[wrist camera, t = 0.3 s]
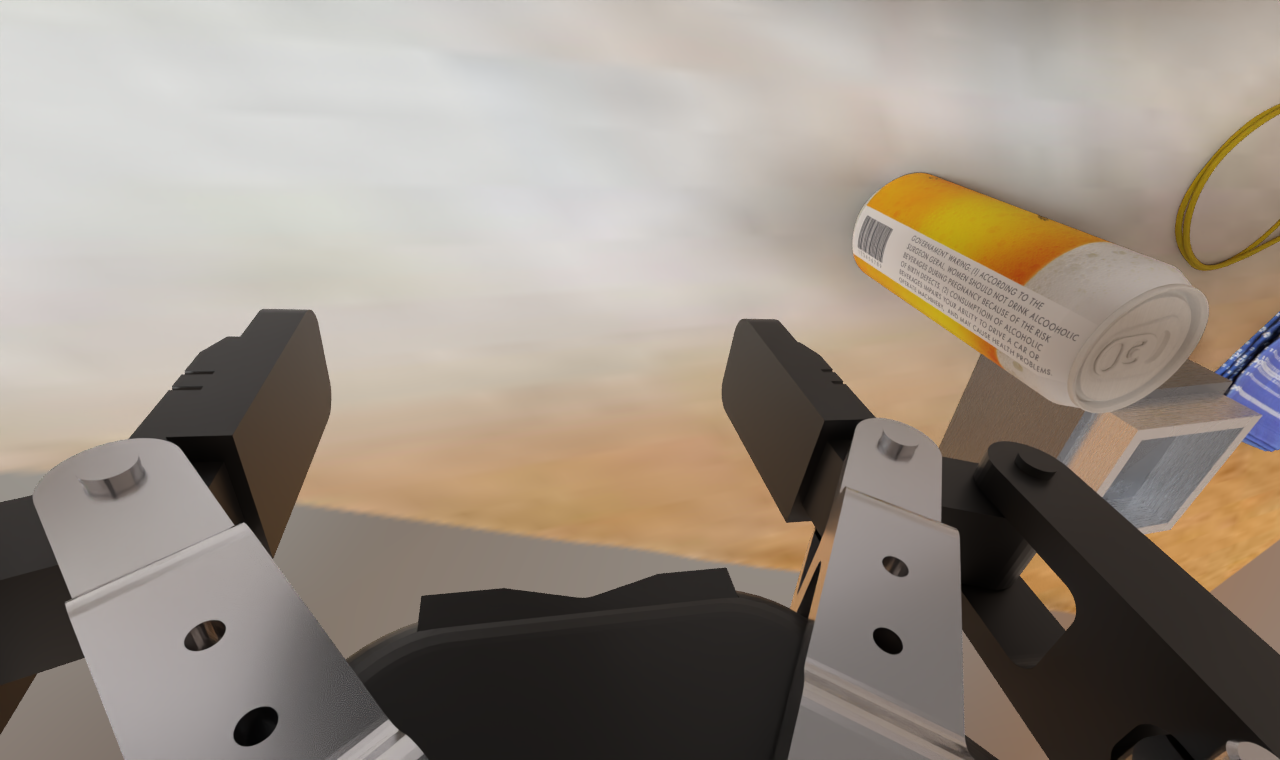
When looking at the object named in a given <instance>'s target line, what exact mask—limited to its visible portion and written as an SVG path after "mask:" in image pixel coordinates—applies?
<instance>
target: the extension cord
mask: <svg viewBox="0 0 1280 760" xmlns="http://www.w3.org/2000/svg"><path fill="white" fill-rule="evenodd" d="M1279 114H1280V104H1278V105H1276V106H1274V107H1272V108H1270V109H1268V110H1266V111H1264V112H1262V113H1261V114H1259V115H1257V116H1256V117H1254V118H1253V119H1252V120H1250V121H1249V122H1247V123H1246V124H1245V125H1244V126H1243V127H1241V128H1240V129H1239V130H1238V131H1237V132H1236V133H1235V134H1234V135H1233V136H1231V137H1230V138H1229V139H1228V140H1227V141H1226V142H1225V143H1224V145H1223V146H1222V147H1221V148H1220V149H1219V150H1218V151H1217V152H1216V153H1215V154H1214V156H1213V157H1212V158H1211V159H1210V161H1209V162H1208V163H1207V164H1206V165H1205V167H1204V168H1203V169H1202V170H1201V171H1200V173H1199V174H1198V175H1197V177H1196V178H1195V179H1194V181H1193V183H1192V184H1191V186H1190V187H1189V189H1188V191H1187V192H1186V194H1185V196H1184V198H1183V200H1182V203H1181V205H1180V208H1179V210H1178V214H1177V219H1176V225H1175V235H1176V241H1177V244H1178V248H1179V250H1180V252H1181V254H1182V255H1183V257H1184V258H1185V259H1186V261H1187V262H1188V263H1189V264H1190V265H1191V266H1192V267H1193V268H1195V269H1198V270H1202V271H1207V270H1214V269H1219V268H1222V267H1226V266H1229V265H1231V264H1233V263H1236V262H1238V261H1240V260H1243V259H1245V258H1247V257H1250V256H1252V255H1254V254H1255V253H1257V252H1259V251H1261V250H1263V249H1265V248H1267V247H1269V246H1271V245H1273V244H1275V243H1277V242H1279V241H1280V236H1278V237H1276V238H1274V239H1272V240H1270V241H1268V242H1266V243H1264V244H1262V245H1261V246H1259V247H1257V248H1255V247H1256V246H1257V245H1258V244H1260V243H1261V242H1262V241H1263V240H1265V239H1266V238H1267V237H1268V236H1269V235H1270V234H1271V233H1272V232H1273V231H1274V230H1276V229H1277V228H1278V227H1279V226H1280V219H1279V220H1278V222H1277V223H1276V224H1275V225H1274V226H1272V227H1271V228H1270V229H1269V230H1268V231H1267V232H1266V233H1265V234H1264V235H1263V236H1261V237H1260V238H1259V239H1258V240H1257V241H1255V242H1254V243H1253V244H1252V245H1250V246H1249V247H1248V248H1246V249H1245V250H1243V251H1242V252H1240V253H1239V254H1237V255H1235V256H1234V257H1232V258H1230V259H1228V260H1226V261H1224V262H1221V263H1219V264H1216V265H1204V264H1202V263H1201V262H1200V261H1199V260H1198V259H1197V258H1196V257H1195V255H1194V253H1193V251H1192V248H1191V244H1190V224H1191V219H1192V215H1193V211H1194V208H1195V205H1196V202H1197V200H1198V197H1199V195H1200V193H1201V191H1202V189H1203V187H1204V185H1205V183H1206V182H1207V180H1208V178H1209V177H1210V175H1211V173H1212V172H1213V171H1214V169H1215V168H1216V167H1217V165H1218V164H1219V163H1220V162H1221V160H1222V159H1223V158H1224V157H1225V156H1226V155H1227V154H1228V153H1229V152H1230V151H1231V150H1232V149H1233V148H1234V147H1235V146H1236V145H1237V144H1238V143H1239V142H1240V141H1242V140H1243V139H1244V138H1245V137H1246V136H1248V135H1249V134H1250V133H1251V132H1253V131H1254V130H1255V129H1257V128H1258V127H1260V126H1261V125H1263V124H1264V123H1265V122H1267V121H1269V120H1270V119H1272V118H1274V117H1275V116H1277V115H1279ZM1191 195H1192V197H1191ZM1190 197H1191V200H1190ZM1189 200H1190V202H1189ZM1188 202H1189V205H1188V208H1187V211H1186V215H1185V219H1184V224H1183V237H1182V222H1183V216H1184V212H1185V209H1186V207H1187V204H1188ZM1253 248H1255V249H1253ZM1252 249H1253V250H1252Z"/></svg>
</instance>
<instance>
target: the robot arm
mask: <svg viewBox="0 0 1280 760" xmlns="http://www.w3.org/2000/svg"><path fill="white" fill-rule="evenodd" d="M832 370H833V369H832V368H831V367H830V366H829V365H828V364H827V363H826V362H825V360H824V359H823V358H822V357H821V356H820V355H819V354H817V353H816V352H814V351H813V350H811V349H809V348H808V347H806V346H805V345H803V344H801V343H800V342H797V341H796V340H795V339H794V338H793V336H792V335H791V334H790V333H789V332H788V331H787V329H786V328H785V327H784V326H783V325H782V324H781V322H779V321H778V320H775V319H742V320H740V321H739V323H738V324H737V326H736V329H735V333H734V337H733V341H732V345H731V349H730V353H729V357H728V362H727V366H726V370H725V374H724V378H723V383H722V401H723V406H724V409H725V411H726V413H727V415H728V417H729V419H730V420H731V422H732V424H733V426H734V428H735V430H736V431H737V433H738V435H739V437H740V439H741V441H742V442H743V444H744V446H745V448H746V450H747V452H748V453H749V455H750V457H751V459H752V461H753V463H754V464H755V466H756V468H757V470H758V472H759V473H760V475H761V477H762V479H763V481H764V483H765V484H766V486H767V488H768V490H769V492H770V494H771V495H772V497H773V499H774V501H775V503H776V505H777V506H778V508H779V510H780V512H781V514H782V515H783V517H784V519H785V521H786V523H789V522H802V521H812V522H813V524H814V526H815V528H814V531H813V533H812V535H811V538H810V540H809V544H808V547H807V551H806V554H805V558H804V561H803V564H802V568H801V571H800V575H799V578H798V582H797V586H796V589H795V592H794V596H793V599H792V603H791V606H790V608H787V607H785V606H783V605H781V604H779V603H776V602H774V601H772V600H769V599H766V598H763V597H761V596H757V595H753V594H749V593H745V592H740V591H735V588H734V586H733V584H732V581H731V578H730V576H729V573H728V571H727V568H717V569H707V570H696V571H687V572H686V571H685V572H675V573H663V574H657V575H654V576H651V577H648V578H645V579H642V580H640V581H637V582H634V583H631V584H628V585H625V586H622V587H619V588H616V589H613V590H610V591H608V592H605V593H602V594H599V595H596V596H593V597H588V598H576V597H568V596H561V595H552V594H545V593H537V592H529V591H521V590H513V589H505V588H502V589H491V590H480V591H469V592H459V593H448V594H437V595H426V596H422V597H421V604H420V613H419V621H418V622H417V623H414V624H411V625H408V626H406V627H403V628H400V629H398V630H396V631H394V632H391V633H389V634H387V635H385V636H383V637H381V638H379V639H377V640H376V641H374V642H372V643H370V644H368V645H367V646H365V647H363V648H362V649H360V650H359V651H357V652H356V653H354V654H353V655H351V656H350V657H349V658H347V659H346V660H345V658H344V657H343V656H342V654H341V653H340V652H339V650H338V649H337V648H336V646H335V645H334V643H333V642H332V640H331V639H330V638H329V636H328V635H327V634H326V632H325V631H324V629H323V628H322V627H321V625H320V624H319V623H318V621H317V620H316V618H315V617H314V616H313V614H312V613H311V612H310V610H309V609H308V607H307V606H306V605H305V604H304V602H303V601H302V599H301V598H300V596H299V595H298V594H297V592H296V591H295V590H294V588H293V587H292V585H291V584H290V583H289V581H288V580H287V579H286V577H285V576H284V574H283V573H282V572H281V570H280V569H279V567H278V566H277V565H276V563H275V562H274V561H273V558H274V555H275V553H276V550H277V548H278V545H279V543H280V540H281V538H282V535H283V533H284V530H285V528H286V525H287V522H288V520H289V517H290V515H291V512H292V510H293V507H294V505H295V502H296V500H297V497H298V495H299V492H300V490H301V487H302V485H303V482H304V479H305V477H306V474H307V472H308V469H309V467H310V464H311V462H312V459H313V457H314V454H315V452H316V449H317V447H318V444H319V441H320V439H321V436H322V434H323V431H324V429H325V426H326V424H327V421H328V418H329V415H330V410H331V386H330V380H329V375H328V370H327V365H326V360H325V355H324V350H323V345H322V340H321V335H320V330H319V325H318V321H317V318H316V316H315V314H314V312H313V311H312V310H293V309H262V310H260V311H259V312H258V314H257V315H256V316H255V318H254V319H253V320H252V322H251V323H250V325H249V326H248V327H247V329H246V330H245V331H244V333H243V334H242V335H241V337H226V338H224V339H222V340H221V341H219V342H217V343H215V344H214V345H212V346H210V347H208V348H207V349H205V350H203V351H202V352H200V353H199V354H198V355H197V357H196V358H195V359H194V360H193V362H192V363H191V364H190V365H189V366H188V368H187V369H186V370H185V375H181V376H180V377H179V379H178V380H177V381H176V382H175V383H174V385H173V386H172V390H169V391H168V392H167V393H166V394H165V395H164V397H163V398H162V399H161V400H160V402H159V403H158V404H157V405H156V406H155V408H154V409H153V410H152V411H151V412H150V414H149V415H148V416H147V417H146V419H145V420H144V421H143V422H142V423H141V425H140V426H139V427H138V428H137V429H136V431H135V432H134V433H133V434H132V435H131V437H130V438H129V439H127V440H120V441H115V442H111V443H107V444H103V445H100V446H96V447H94V448H91V449H88V450H85V451H83V452H81V453H78V454H76V455H74V456H72V457H70V458H68V459H66V460H65V461H63V462H61V463H60V464H58V465H57V466H55V467H54V468H52V469H51V470H50V471H49V472H48V473H46V474H45V475H44V476H43V478H41V480H40V481H39V482H38V483H37V485H36V487H35V489H34V492H33V495H31V496H27V497H23V498H18V499H14V500H9V501H4V502H0V734H1V733H2V731H3V729H4V727H5V726H6V725H7V723H8V721H9V719H10V718H11V716H12V714H13V713H14V711H15V710H16V708H17V706H18V705H19V703H20V701H21V700H22V698H23V696H24V695H25V693H26V691H27V690H28V688H29V686H30V684H31V683H32V681H33V680H34V678H35V676H36V675H37V673H40V672H43V671H45V670H49V669H52V668H55V667H57V666H60V665H64V664H66V663H70V662H73V661H76V660H79V659H82V658H85V659H86V662H87V665H88V667H89V670H90V672H91V675H92V677H93V680H94V682H95V685H96V688H97V690H98V693H99V695H100V698H101V700H102V703H103V706H104V708H105V711H106V713H107V716H108V718H109V721H110V724H111V726H112V729H113V731H114V734H115V737H116V739H117V741H118V744H119V747H120V749H121V752H122V754H123V757H124V760H998V759H997V758H996V757H994V756H993V755H992V754H990V753H989V752H987V751H986V750H985V749H983V748H982V747H981V746H979V745H978V744H977V743H975V742H974V741H972V740H971V739H970V738H969V737H967V736H966V735H965V729H964V689H963V651H962V649H963V648H962V630H963V631H964V633H965V634H966V636H967V637H968V639H969V640H970V642H971V643H972V645H973V646H974V648H975V649H976V651H977V652H978V654H979V655H980V657H981V658H982V660H983V661H984V663H985V664H986V666H987V667H988V669H989V670H990V672H991V673H992V675H993V676H994V678H995V679H996V680H997V682H998V684H999V685H1000V687H1001V688H1002V689H1003V691H1004V693H1005V694H1006V696H1007V697H1008V699H1009V700H1010V702H1011V703H1012V704H1013V706H1014V707H1015V709H1016V711H1017V712H1018V713H1019V715H1020V716H1021V718H1022V719H1023V721H1024V722H1025V724H1026V725H1027V727H1028V728H1029V730H1030V731H1031V733H1032V734H1033V736H1034V737H1035V739H1036V740H1037V742H1038V743H1039V745H1040V746H1041V748H1042V749H1043V751H1044V752H1045V754H1046V755H1047V757H1048V758H1049V760H1280V655H1279V654H1278V653H1277V652H1276V651H1275V650H1274V649H1273V648H1272V647H1270V646H1269V645H1268V644H1267V643H1266V642H1265V641H1264V640H1262V639H1261V638H1260V637H1259V636H1258V635H1257V634H1256V633H1254V632H1253V631H1252V630H1251V629H1250V628H1249V627H1248V626H1247V625H1246V624H1244V623H1243V622H1242V621H1241V620H1240V619H1239V618H1238V617H1237V616H1235V615H1234V614H1233V613H1232V612H1231V611H1230V610H1229V609H1227V608H1226V607H1225V606H1224V605H1223V604H1222V603H1221V602H1219V601H1218V600H1217V599H1216V598H1215V597H1214V596H1213V595H1211V593H1209V592H1208V591H1207V590H1206V589H1205V588H1204V587H1203V586H1202V585H1200V584H1199V583H1198V582H1197V581H1196V580H1195V579H1194V578H1192V577H1191V576H1190V575H1189V574H1188V573H1187V572H1186V571H1185V570H1183V569H1182V568H1181V567H1180V566H1179V565H1178V564H1177V563H1176V562H1174V561H1173V560H1172V559H1171V558H1170V557H1169V556H1168V555H1167V554H1165V553H1164V552H1163V551H1162V550H1161V549H1160V548H1159V547H1157V546H1156V545H1155V544H1154V543H1153V542H1152V541H1151V540H1150V539H1148V538H1147V537H1146V536H1145V535H1144V534H1143V533H1142V532H1141V531H1139V530H1138V529H1137V528H1136V527H1135V526H1134V525H1133V524H1132V523H1130V522H1129V521H1128V520H1127V519H1126V518H1125V517H1124V516H1122V515H1121V514H1120V513H1119V512H1118V511H1117V510H1116V509H1115V508H1113V507H1112V506H1111V505H1110V504H1109V503H1108V502H1107V501H1106V500H1104V499H1103V498H1102V497H1101V496H1100V495H1099V494H1098V493H1097V492H1095V491H1094V490H1093V489H1092V488H1091V487H1090V486H1089V485H1087V484H1086V483H1085V482H1084V481H1083V480H1082V479H1081V478H1080V477H1078V476H1077V475H1076V474H1075V473H1074V472H1073V471H1072V470H1071V469H1069V468H1068V467H1067V466H1066V465H1065V464H1063V463H1062V462H1060V461H1059V460H1058V459H1056V458H1054V457H1053V456H1051V455H1049V454H1047V453H1045V452H1043V451H1041V450H1039V449H1036V448H1034V447H1031V446H1028V445H1025V444H1021V443H1017V442H1010V441H999V442H995V443H993V444H991V445H990V446H989V447H988V449H987V451H986V452H985V454H984V456H983V458H982V459H981V461H980V463H974V462H969V461H964V460H958V459H953V458H947V457H942V455H941V452H940V450H939V448H938V447H937V445H936V444H935V443H934V442H933V441H932V440H931V439H930V438H929V437H928V436H926V435H925V434H923V433H922V432H920V431H919V430H917V429H915V428H913V427H911V426H909V425H907V424H904V423H901V422H898V421H895V420H891V419H885V418H876V417H875V416H874V415H873V414H872V413H871V412H870V411H869V410H868V409H867V407H866V406H865V405H864V404H863V403H862V402H861V401H860V400H859V398H858V397H857V396H856V395H855V394H854V393H853V392H852V391H851V390H850V388H849V387H848V386H847V385H846V384H843V381H842V379H841V378H840V377H839V376H838V375H837V374H836V373H835V372H832ZM1036 553H1038V554H1039V555H1040V557H1041V558H1042V559H1043V560H1044V561H1045V562H1046V563H1047V564H1048V566H1049V567H1050V568H1051V569H1052V570H1053V571H1054V572H1055V573H1056V574H1057V576H1058V577H1059V578H1060V579H1061V580H1062V581H1063V582H1064V583H1065V584H1066V586H1067V587H1068V588H1069V590H1070V591H1071V593H1072V595H1073V597H1074V600H1075V604H1076V617H1075V620H1074V622H1073V623H1072V625H1071V626H1070V627H1069V628H1068V629H1067V630H1066V631H1065V630H1064V628H1063V627H1062V626H1061V625H1060V624H1059V622H1058V621H1057V620H1056V619H1055V618H1054V616H1053V615H1052V614H1051V613H1050V612H1049V610H1048V609H1047V608H1046V607H1045V606H1044V604H1043V603H1042V602H1041V601H1040V600H1039V598H1038V597H1037V596H1036V595H1035V594H1034V592H1033V591H1032V590H1031V589H1030V588H1029V586H1028V585H1027V584H1026V583H1025V582H1024V580H1023V579H1022V578H1021V577H1020V574H1021V573H1022V572H1023V570H1024V569H1025V567H1026V566H1027V565H1028V563H1029V562H1030V561H1031V559H1032V558H1033V557H1034V555H1035V554H1036Z"/></svg>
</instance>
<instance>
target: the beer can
mask: <svg viewBox="0 0 1280 760" xmlns="http://www.w3.org/2000/svg"><path fill="white" fill-rule="evenodd" d="M852 249H853V255H854V259H855V261H856V263H857V265H858V267H859V268H860V269H861V270H862V271H863V272H864V273H865V274H867V275H868V276H869V277H871V278H872V279H874V280H875V281H877V282H878V283H880V284H881V285H883V286H884V287H885V288H887V289H888V290H890V291H891V292H893V293H894V294H896V295H897V296H898V297H900V298H901V299H903V300H904V301H906V302H907V303H909V304H910V305H912V306H913V307H914V308H916V309H917V310H919V311H920V312H922V313H923V314H925V315H926V316H927V317H929V318H930V319H932V320H933V321H935V322H936V323H938V324H939V325H940V326H942V327H943V328H945V329H946V330H948V331H949V332H951V333H952V334H954V335H955V336H956V337H958V338H959V339H961V340H962V341H964V342H965V343H967V344H968V345H969V346H971V347H972V348H974V349H975V350H977V351H978V352H980V353H981V354H983V355H984V356H985V357H987V358H988V359H990V360H991V361H993V362H994V363H996V364H997V365H998V366H1000V367H1001V368H1003V369H1004V370H1006V371H1007V372H1009V373H1010V374H1011V375H1013V376H1014V377H1016V378H1017V379H1019V380H1020V381H1022V382H1023V383H1025V384H1026V385H1027V386H1029V387H1030V388H1032V389H1033V390H1035V391H1036V392H1038V393H1039V394H1040V395H1042V396H1043V397H1045V398H1046V399H1048V400H1049V401H1051V402H1053V403H1056V404H1059V405H1065V406H1071V407H1077V408H1080V409H1082V410H1084V411H1087V412H1090V413H1108V412H1112V411H1116V410H1119V409H1122V408H1124V407H1127V406H1129V405H1131V404H1133V403H1135V402H1137V401H1139V400H1140V399H1142V398H1144V397H1145V396H1147V395H1148V394H1150V393H1151V392H1153V391H1154V390H1155V389H1157V388H1158V387H1159V386H1161V385H1162V384H1163V383H1164V382H1165V381H1167V380H1168V379H1169V378H1170V377H1171V376H1172V375H1173V374H1174V373H1175V372H1176V371H1177V370H1178V369H1179V368H1180V367H1181V366H1182V365H1183V363H1184V362H1185V361H1186V360H1187V358H1188V357H1189V356H1190V355H1191V353H1192V352H1193V350H1194V349H1195V347H1196V346H1197V344H1198V342H1199V341H1200V339H1201V337H1202V335H1203V333H1204V330H1205V328H1206V325H1207V321H1208V316H1209V304H1208V301H1207V298H1206V296H1205V295H1204V294H1203V293H1202V292H1201V291H1200V290H1198V289H1196V288H1194V287H1193V286H1192V285H1191V283H1190V282H1189V281H1188V280H1187V278H1186V277H1185V276H1184V275H1183V273H1182V272H1181V271H1180V270H1179V269H1178V268H1176V267H1174V266H1173V265H1170V264H1167V263H1165V262H1162V261H1159V260H1157V259H1154V258H1151V257H1149V256H1146V255H1143V254H1141V253H1138V252H1135V251H1133V250H1130V249H1127V248H1125V247H1122V246H1119V245H1117V244H1114V243H1111V242H1109V241H1106V240H1103V239H1101V238H1098V237H1095V236H1093V235H1090V234H1087V233H1085V232H1082V231H1079V230H1077V229H1074V228H1071V227H1069V226H1066V225H1063V224H1061V223H1058V222H1055V221H1053V220H1050V219H1048V218H1045V217H1042V216H1040V215H1037V214H1034V213H1032V212H1029V211H1026V210H1024V209H1021V208H1018V207H1016V206H1013V205H1010V204H1008V203H1005V202H1002V201H1000V200H997V199H994V198H992V197H989V196H986V195H984V194H981V193H978V192H976V191H973V190H970V189H968V188H965V187H962V186H960V185H957V184H954V183H952V182H949V181H946V180H944V179H941V178H938V177H936V176H933V175H930V174H926V173H912V174H907V175H904V176H901V177H899V178H897V179H895V180H893V181H891V182H890V183H888V184H886V185H885V186H884V187H882V188H881V189H879V190H878V191H877V192H876V193H874V194H873V195H872V196H871V197H870V199H869V200H868V201H867V202H866V203H865V205H864V206H863V208H862V209H861V211H860V213H859V215H858V217H857V220H856V223H855V226H854V232H853V241H852Z"/></svg>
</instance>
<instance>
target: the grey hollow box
mask: <svg viewBox="0 0 1280 760" xmlns="http://www.w3.org/2000/svg"><path fill="white" fill-rule="evenodd" d="M1232 382H1233V381H1231V380H1229V379H1227V378H1225V377H1223V376H1221V375H1219V374H1217V373H1215V372H1213V371H1211V370H1209V369H1207V368H1205V367H1203V366H1201V365H1199V364H1197V363H1195V362H1193V361H1191V360H1189V359H1187V360H1186V361H1185V362H1184V363H1183V365H1182V366H1181V367H1180V368H1179V369H1178V370H1177V371H1176V372H1175V373H1174V374H1173V375H1172V376H1171V377H1170V378H1169V379H1168V380H1167V381H1165V382H1164V383H1163V384H1162V385H1161V386H1159V387H1158V388H1157V389H1155V390H1154V391H1153V392H1151V393H1150V394H1148V395H1147V396H1145V397H1144V398H1142V399H1140V400H1139V401H1137V402H1135V403H1133V404H1131V405H1129V406H1127V407H1124V408H1122V409H1119V410H1116V411H1112V412H1108V413H1090V412H1087V411H1084V410H1082V409H1080V408H1077V407H1071V406H1065V405H1059V404H1056V403H1053V402H1051V401H1049V400H1048V399H1046V398H1045V397H1043V396H1042V395H1040V394H1039V393H1038V392H1036V391H1035V390H1033V389H1032V388H1030V387H1029V386H1027V385H1026V384H1025V383H1023V382H1022V381H1020V380H1019V379H1017V378H1016V377H1014V376H1013V375H1011V374H1010V373H1009V372H1007V371H1006V370H1004V369H1003V368H1001V367H1000V366H998V365H997V364H996V363H994V362H993V361H991V360H990V359H988V358H987V357H985V356H984V355H983V354H981V356H980V358H979V360H978V363H977V365H976V367H975V369H974V371H973V374H972V376H971V378H970V380H969V383H968V385H967V387H966V389H965V392H964V394H963V396H962V398H961V400H960V403H959V405H958V407H957V409H956V412H955V414H954V416H953V418H952V421H951V423H950V425H949V427H948V429H947V432H946V434H945V436H944V438H943V441H942V443H941V445H940V447H939V450H940V452H941V455H942V457H947V458H953V459H958V460H964V461H969V462H974V463H980V461H981V459H982V458H983V456H984V454H985V452H986V451H987V449H988V447H989V446H990V445H991V444H993V443H995V442H999V441H1010V442H1017V443H1021V444H1025V445H1028V446H1031V447H1034V448H1036V449H1039V450H1041V451H1043V452H1045V453H1047V454H1049V455H1051V456H1053V457H1054V458H1056V459H1058V460H1059V461H1060V462H1062V463H1063V464H1065V465H1066V466H1067V467H1068V468H1069V469H1071V470H1072V471H1073V472H1074V473H1075V474H1076V475H1077V476H1078V477H1080V478H1081V479H1082V480H1083V481H1084V482H1085V483H1086V484H1087V485H1089V486H1090V487H1091V488H1092V489H1093V490H1094V491H1095V492H1097V493H1098V494H1099V495H1100V496H1101V497H1102V498H1103V499H1104V500H1106V501H1107V502H1108V503H1109V504H1110V505H1111V506H1112V507H1113V508H1115V509H1116V510H1117V511H1118V512H1119V513H1120V514H1121V515H1122V516H1124V517H1125V518H1126V519H1127V520H1128V521H1129V522H1130V523H1132V524H1133V525H1134V526H1135V527H1136V528H1137V529H1138V530H1139V531H1141V532H1142V533H1143V534H1149V533H1154V532H1160V531H1166V530H1170V529H1171V528H1172V527H1173V526H1174V525H1175V523H1176V522H1177V521H1178V520H1179V518H1180V517H1181V516H1182V515H1183V513H1184V512H1185V511H1186V510H1187V508H1188V507H1189V506H1190V505H1191V503H1192V502H1193V501H1194V500H1195V498H1196V497H1197V496H1198V495H1199V494H1200V492H1201V491H1202V490H1203V489H1204V487H1205V486H1206V485H1207V484H1208V482H1209V481H1210V480H1211V479H1212V477H1213V476H1214V475H1215V474H1216V472H1217V471H1218V470H1219V469H1220V468H1221V466H1222V465H1223V464H1224V463H1225V461H1226V460H1227V459H1228V458H1229V456H1230V455H1231V454H1232V453H1233V451H1234V450H1235V449H1236V448H1237V446H1238V445H1239V444H1240V443H1241V442H1242V440H1243V439H1244V438H1245V437H1246V435H1247V434H1248V433H1249V432H1250V430H1251V429H1252V428H1253V427H1254V425H1255V424H1256V423H1257V422H1258V420H1259V419H1260V418H1261V417H1262V415H1261V414H1259V413H1257V412H1255V411H1254V410H1252V409H1250V408H1248V407H1246V406H1244V405H1242V404H1240V403H1238V402H1236V401H1234V400H1233V399H1231V398H1229V397H1227V396H1225V395H1223V394H1224V393H1225V391H1226V390H1227V389H1228V387H1229V386H1230V385H1231V383H1232Z"/></svg>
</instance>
